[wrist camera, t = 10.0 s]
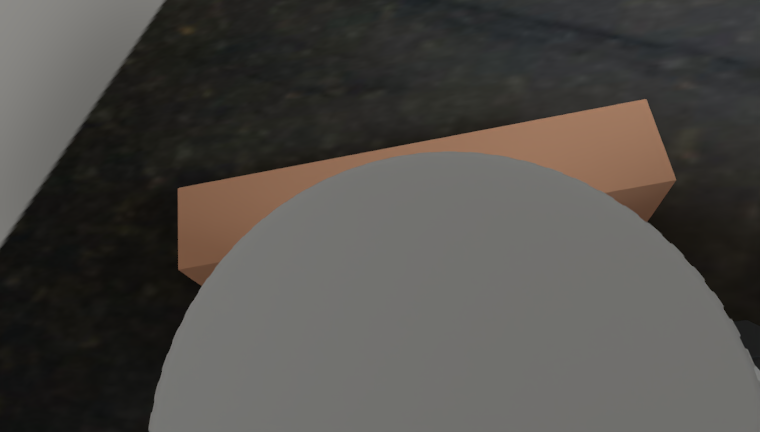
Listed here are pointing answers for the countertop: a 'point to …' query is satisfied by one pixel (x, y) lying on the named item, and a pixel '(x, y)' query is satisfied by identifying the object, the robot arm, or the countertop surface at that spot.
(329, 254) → the pill bottle
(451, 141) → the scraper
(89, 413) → the countertop surface
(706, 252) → the countertop surface
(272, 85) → the countertop surface
